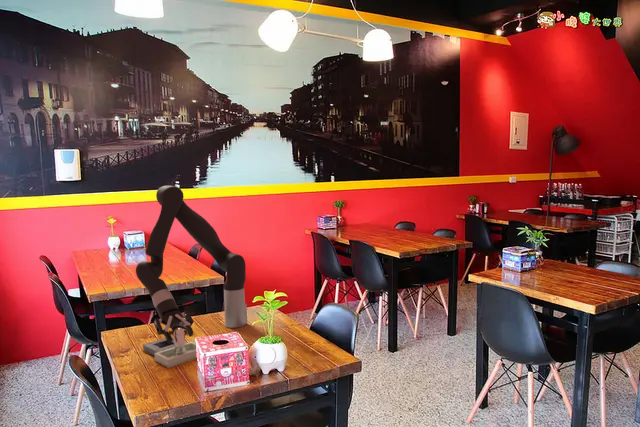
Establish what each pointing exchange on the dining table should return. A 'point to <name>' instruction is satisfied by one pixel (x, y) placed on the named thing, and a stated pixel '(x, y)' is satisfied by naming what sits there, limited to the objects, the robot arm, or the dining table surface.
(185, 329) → the brown lobed piece
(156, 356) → the tray
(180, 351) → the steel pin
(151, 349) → the plate
